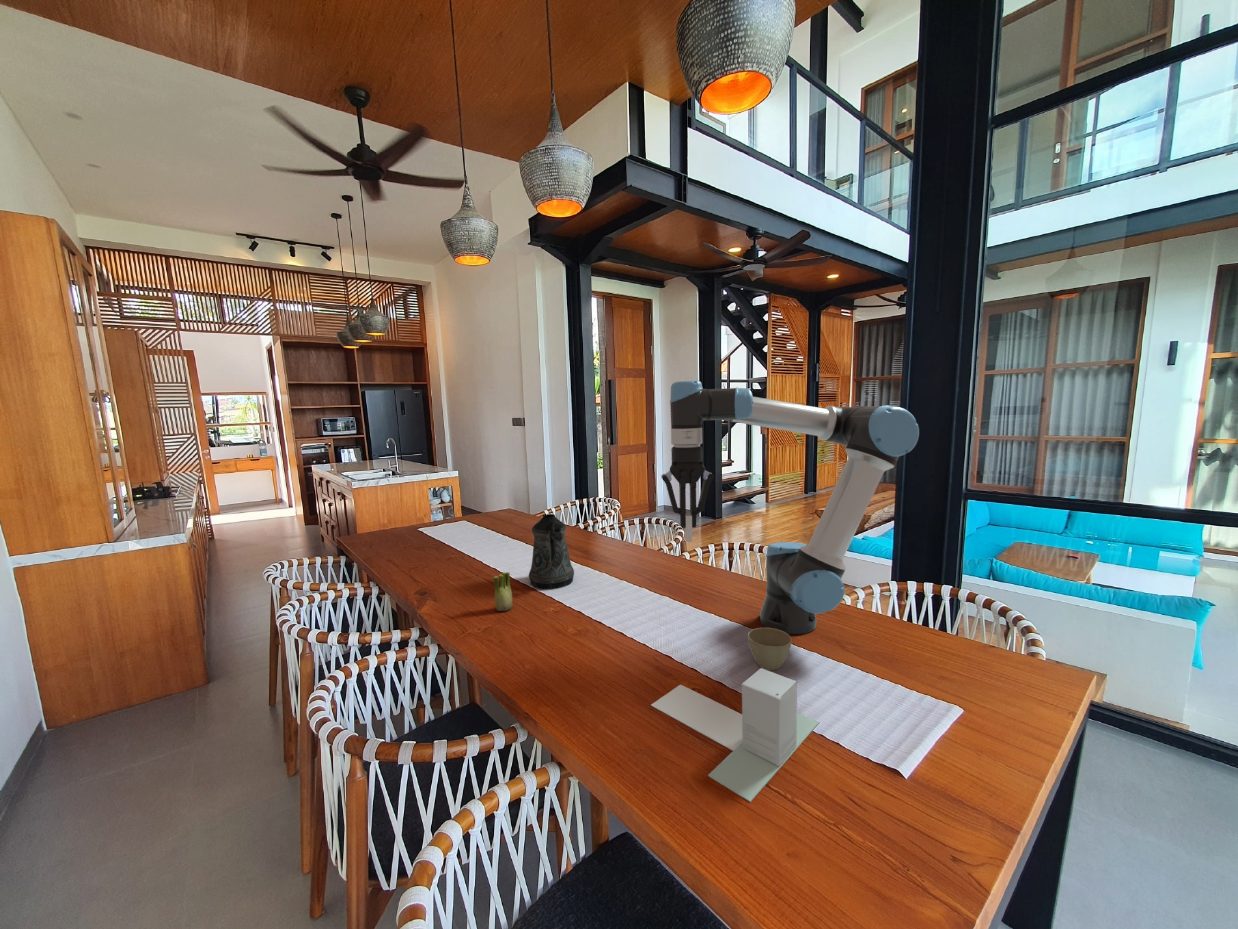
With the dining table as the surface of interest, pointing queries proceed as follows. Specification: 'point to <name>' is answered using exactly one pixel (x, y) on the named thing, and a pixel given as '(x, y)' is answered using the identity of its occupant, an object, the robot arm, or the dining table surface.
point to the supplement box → (769, 715)
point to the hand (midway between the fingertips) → (688, 540)
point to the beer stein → (550, 555)
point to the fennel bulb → (503, 592)
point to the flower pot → (769, 647)
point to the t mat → (727, 739)
